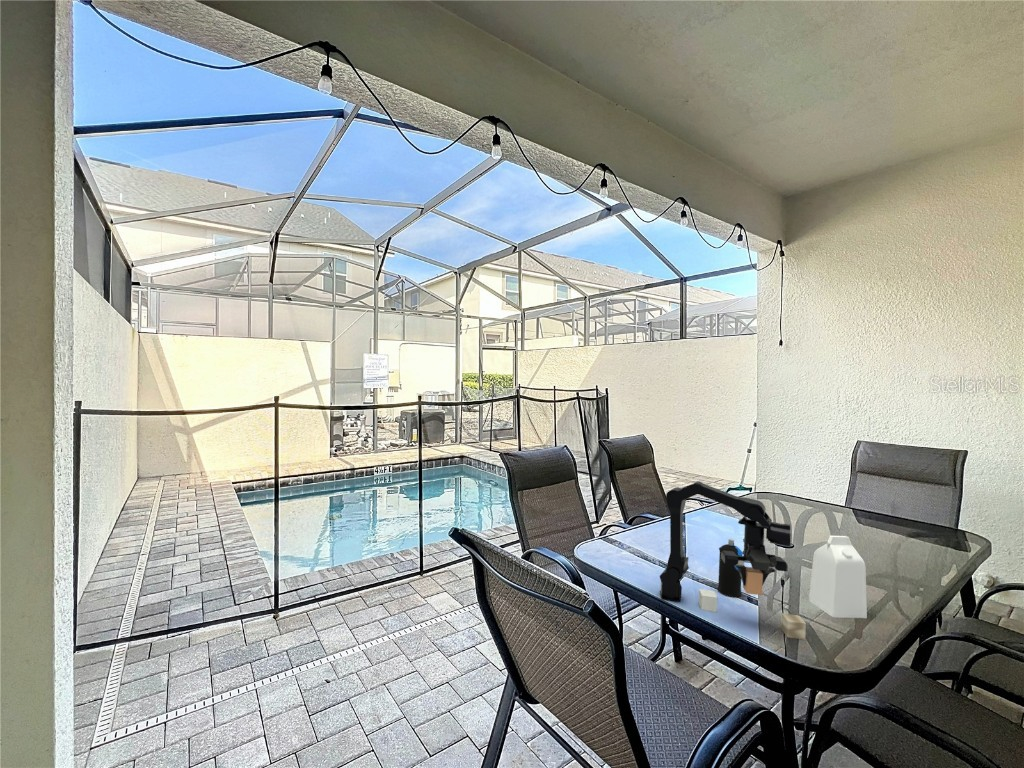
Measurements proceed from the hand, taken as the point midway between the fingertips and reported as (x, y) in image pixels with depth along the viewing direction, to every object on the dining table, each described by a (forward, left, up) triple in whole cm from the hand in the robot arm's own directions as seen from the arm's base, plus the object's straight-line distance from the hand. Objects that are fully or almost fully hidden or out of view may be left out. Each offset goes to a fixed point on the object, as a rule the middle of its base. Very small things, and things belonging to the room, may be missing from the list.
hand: (752, 586), depth 142 cm
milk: (+34, +19, -12) cm, 41 cm away
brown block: (0, 0, -2) cm, 2 cm away
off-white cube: (-12, +6, -12) cm, 18 cm away
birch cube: (+11, -4, -12) cm, 17 cm away
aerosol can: (-1, +21, -12) cm, 24 cm away
